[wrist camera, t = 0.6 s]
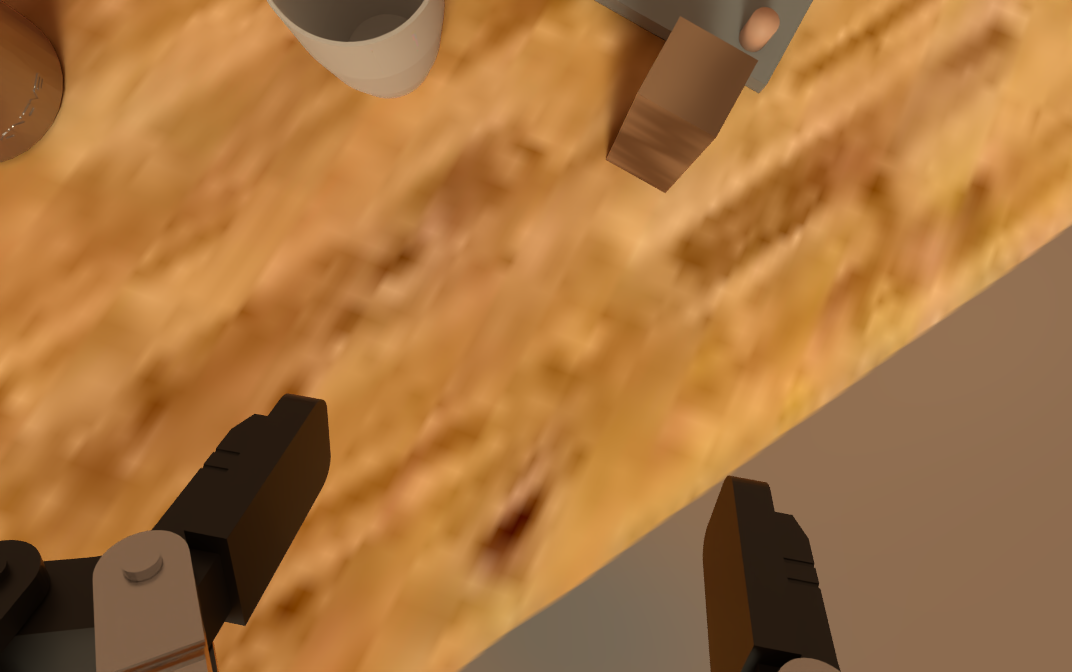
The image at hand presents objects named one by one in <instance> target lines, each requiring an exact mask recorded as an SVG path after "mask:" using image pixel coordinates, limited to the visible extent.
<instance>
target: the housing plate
mask: <svg viewBox="0 0 1072 672" xmlns="http://www.w3.org/2000/svg"><path fill="white" fill-rule="evenodd" d="M595 1H597V2H599V3H600V4H602V5H604V6H606V7H607V8H609V9H611V10H613V11H614V12H616V13H618V14H620V15H621V16H623V17H625V18H627V19H629V20H630V21H632V22H634V23H636V24H637V25H639V26H641V27H643V28H644V29H646V30H648V31H650V32H651V33H653V34H655V35H657V36H659V37H660V38H662V39H664V40H666V41H667V39H668V37H669V35H670V33H671V32H672V30H673V28H674V26H675V25H676V23H677V21H678V19H679V17H680V16H681V17H683V18H684V19H686V20H688V21H690V22H692V23H693V24H695V25H697V26H699V27H700V28H702V29H704V30H706V31H707V32H709V33H711V34H713V35H714V36H716V37H718V38H720V39H722V40H723V41H725V42H727V43H729V44H730V45H732V46H734V47H736V48H737V49H739V50H741V51H743V52H744V53H746V54H748V55H750V56H752V57H753V58H755V59H757V60H758V62H757V64H756V66H755V67H754V69H753V71H752V73H751V75H750V77H749V78H748V80H747V82H746V84H745V86H747V87H749V88H750V89H752V90H754V91H756V92H757V93H760V91H761V90H762V89H763V88H764V87H765V86H766V85H767V83H768V81H769V79H770V78H771V76H772V74H773V72H774V70H775V68H776V67H777V65H778V63H779V61H780V59H781V58H782V56H783V54H784V52H785V50H786V48H787V47H788V45H789V43H790V41H791V39H792V38H793V36H794V34H795V32H796V30H797V28H798V27H799V25H800V23H801V21H802V19H803V17H804V16H805V14H806V12H807V10H808V8H809V7H810V5H811V3H812V1H813V0H595Z"/></svg>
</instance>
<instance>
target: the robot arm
mask: <svg viewBox="0 0 1072 672" xmlns="http://www.w3.org/2000/svg"><path fill="white" fill-rule="evenodd" d="M62 94H63V75H62V71H61V66H60V62H59V59H58V56H57V54H56V52H55V50H54V48H53V46H52V44H51V43H50V41H49V40H48V39H47V37H46V36H45V35H44V33H43V32H42V31H41V30H40V29H39V28H37V27H36V26H35V25H34V24H33V23H32V22H30V21H29V20H28V19H27V18H25V17H24V16H22V15H21V14H20V13H18V12H17V11H15V10H14V9H12V8H11V7H10V6H8V5H7V4H5V3H4V2H3V1H1V0H0V162H3V161H6V160H9V159H12V158H14V157H16V156H18V155H20V154H21V153H23V152H25V151H27V150H28V149H30V148H31V147H32V146H33V145H34V144H35V143H37V142H38V141H39V140H40V139H41V138H42V137H43V135H44V134H45V133H46V132H47V130H48V129H49V128H50V126H51V125H52V123H53V121H54V119H55V117H56V115H57V112H58V110H59V107H60V102H61V98H62ZM330 458H331V454H330V440H329V427H328V414H327V405H326V402H325V401H324V400H321V399H316V398H310V397H305V396H299V395H294V394H285V395H284V396H282V398H281V399H280V400H279V401H278V403H277V404H276V405H275V407H274V408H273V410H272V411H271V412H270V414H269V415H268V416H264V415H258V414H254V415H252V416H251V417H249V418H248V419H246V420H244V421H243V422H241V423H240V424H238V425H237V426H235V427H234V428H232V429H231V430H230V431H229V433H228V434H227V435H226V436H225V438H224V439H223V440H222V441H221V443H220V444H219V445H218V447H217V448H216V452H213V453H212V454H211V455H210V457H209V458H208V459H207V461H206V462H205V463H204V466H203V468H200V469H199V471H198V472H197V473H196V475H195V476H194V477H193V478H192V480H191V481H190V482H189V483H188V485H187V486H186V487H185V489H184V490H183V491H182V492H181V494H180V495H179V496H178V497H177V499H176V500H175V501H174V503H173V504H172V505H171V506H170V508H169V509H168V510H167V511H166V513H165V514H164V515H163V517H162V518H161V519H160V520H159V522H158V523H157V524H156V525H155V526H154V528H153V529H152V530H151V531H145V532H141V533H137V534H134V535H131V536H129V537H127V538H125V539H123V540H121V541H119V542H118V543H116V544H115V545H113V546H112V547H111V548H109V549H108V550H107V551H106V552H105V553H104V554H103V555H102V556H97V557H89V558H78V559H66V560H54V561H43V560H42V558H41V556H40V553H39V552H38V550H37V549H36V548H35V547H34V546H33V545H31V544H29V543H27V542H23V541H18V540H4V541H0V672H219V669H218V663H217V658H216V652H215V647H214V643H213V640H214V639H215V637H216V635H217V633H218V632H219V630H220V628H221V627H222V625H223V623H224V622H229V623H234V624H239V625H244V626H245V625H246V624H247V622H248V620H249V618H250V617H251V615H252V613H253V611H254V609H255V608H256V606H257V604H258V602H259V600H260V599H261V597H262V595H263V593H264V591H265V590H266V588H267V586H268V584H269V582H270V581H271V579H272V577H273V575H274V573H275V572H276V570H277V568H278V566H279V564H280V563H281V561H282V559H283V557H284V555H285V554H286V552H287V550H288V548H289V546H290V545H291V543H292V541H293V539H294V538H295V536H296V534H297V532H298V530H299V529H300V527H301V525H302V523H303V521H304V520H305V518H306V516H307V514H308V512H309V511H310V509H311V507H312V505H313V503H314V502H315V500H316V498H317V496H318V494H319V493H320V491H321V489H322V487H323V485H324V483H325V481H326V478H327V475H328V471H329V466H330ZM703 568H704V582H705V595H706V596H705V597H706V612H707V625H708V640H709V654H710V666H711V672H841V671H840V668H839V665H838V662H837V658H836V653H835V649H834V645H833V641H832V636H831V633H830V628H829V624H828V619H827V615H826V611H825V607H824V602H823V598H822V594H821V590H820V589H819V588H818V586H819V581H818V577H817V573H816V569H815V568H814V560H813V556H812V552H811V547H810V543H809V539H808V537H807V536H806V534H805V533H804V531H803V530H802V529H801V527H800V526H799V524H798V523H797V521H796V520H795V518H794V517H793V515H788V514H784V513H778V512H775V511H774V506H773V501H772V496H771V491H770V487H769V485H768V484H767V483H766V482H761V481H755V480H750V479H745V478H739V477H734V476H727V477H726V479H725V480H724V483H723V486H722V488H721V491H720V494H719V496H718V499H717V502H716V504H715V507H714V510H713V513H712V515H711V518H710V521H709V523H708V526H707V529H706V533H705V538H704V545H703Z"/></svg>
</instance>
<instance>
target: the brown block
mask: <svg viewBox="0 0 1072 672" xmlns="http://www.w3.org/2000/svg"><path fill="white" fill-rule="evenodd" d="M757 62H758V60H757V59H755V58H753V57H752V56H750V55H748V54H746V53H744V52H743V51H741V50H739V49H737V48H736V47H734V46H732V45H730V44H729V43H727V42H725V41H723V40H722V39H720V38H718V37H716V36H714V35H713V34H711V33H709V32H707V31H706V30H704V29H702V28H700V27H699V26H697V25H695V24H693V23H692V22H690V21H688V20H686V19H684V18H683V17H681V16H680V17H679V19H678V21H677V23H676V25H675V26H674V28H673V30H672V32H671V33H670V35H669V37H668V39H667V41H666V42H665V44H664V46H663V48H662V50H661V51H660V53H659V55H658V57H657V59H656V60H655V62H654V64H653V66H652V67H651V69H650V71H649V73H648V75H647V76H646V78H645V80H644V82H643V84H642V85H641V87H640V89H639V91H638V92H637V94H636V97H635V99H634V101H633V103H632V105H631V107H630V109H629V112H628V114H627V116H626V118H625V120H624V122H623V124H622V126H621V129H620V131H619V133H618V135H617V137H616V139H615V141H614V144H613V146H612V148H611V150H610V152H609V154H608V156H607V158H606V160H607V161H609V162H611V163H613V164H615V165H616V166H618V167H620V168H622V169H623V170H625V171H627V172H629V173H631V174H632V175H634V176H636V177H638V178H639V179H641V180H643V181H645V182H647V183H648V184H650V185H652V186H654V187H655V188H657V189H659V190H661V191H663V192H664V193H666V192H667V191H668V189H669V188H670V187H671V186H672V185H673V184H674V183H675V182H676V181H677V180H678V179H679V177H680V176H681V175H682V174H683V173H684V172H685V171H686V170H687V169H688V168H689V166H690V165H691V164H692V163H693V162H694V161H695V160H696V159H697V158H698V157H699V155H700V154H701V153H702V152H703V151H704V150H705V149H706V148H707V147H708V146H709V145H710V143H711V142H712V141H713V140H714V139H715V138H716V136H717V135H718V133H719V131H720V129H721V127H722V126H723V124H724V122H725V120H726V118H727V117H728V115H729V113H730V111H731V109H732V107H733V106H734V104H735V102H736V100H737V98H738V97H739V95H740V93H741V91H742V89H743V87H744V86H745V84H746V82H747V80H748V78H749V77H750V75H751V73H752V71H753V69H754V67H755V66H756V64H757Z"/></svg>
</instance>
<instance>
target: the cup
mask: <svg viewBox="0 0 1072 672" xmlns="http://www.w3.org/2000/svg"><path fill="white" fill-rule="evenodd" d="M267 1H268V3H269V5H270V6H271V7H272V9H273V10H274V11H275V13H276V14H277V15H278V16H279V17H280V19H281V20H282V21H283V22H284V23H285V25H286V26H287V27H288V28H289V29H290V31H291V32H292V33H293V34H294V36H295V37H296V38H297V39H298V40H299V42H300V43H301V44H302V45H303V46H304V48H305V49H306V50H307V51H308V52H309V54H310V55H311V56H312V57H313V58H314V59H316V60H317V61H318V62H319V63H320V64H322V65H323V66H324V67H325V68H327V69H328V70H329V71H330V72H332V73H333V74H334V75H335V76H336V77H338V78H339V79H340V80H341V81H343V82H344V83H345V84H347V85H348V86H350V87H352V88H354V89H356V90H359V91H361V92H364V93H367V94H370V95H373V96H376V97H380V98H397V97H401V96H404V95H407V94H409V93H411V92H412V91H414V90H415V89H416V88H418V87H419V86H420V85H421V83H422V82H423V81H424V80H425V78H426V76H427V75H428V73H429V71H430V69H431V67H432V65H433V63H434V62H435V59H436V57H437V54H438V51H439V46H440V39H441V31H442V24H443V16H444V0H267Z"/></svg>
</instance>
